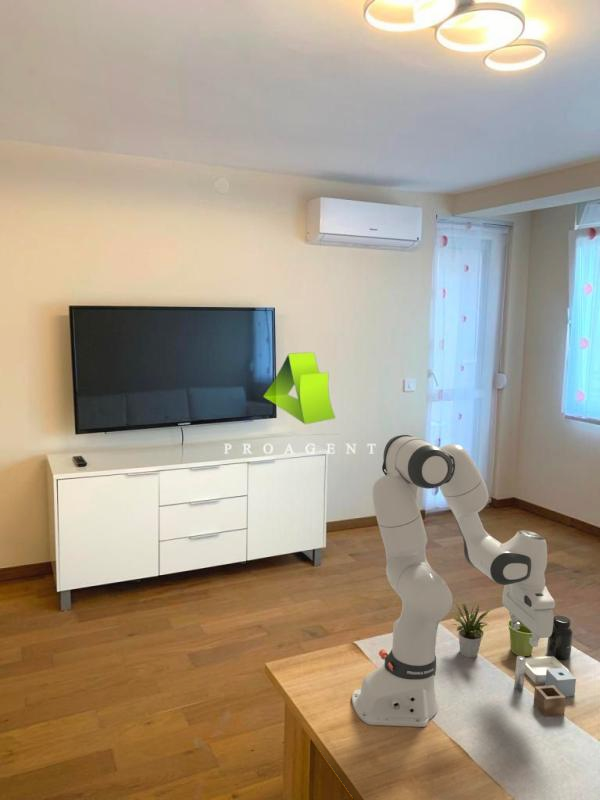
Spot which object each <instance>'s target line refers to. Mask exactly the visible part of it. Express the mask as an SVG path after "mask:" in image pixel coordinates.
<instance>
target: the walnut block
mask: <svg viewBox="0 0 600 800" xmlns="http://www.w3.org/2000/svg"><path fill="white" fill-rule="evenodd" d="M566 697H567V696H564V695H563V694H562V693H561V692H560V691H559V690H558V689H557V688H556V687H555V686H554V685H550V686H545V685H539V686H534V695H533V706H534V707H536V709H537V710H538V711H539V712H540V713H541V714H542V715H543V716H544V718H547V716H549V717H557V716H559V715H560V716H564V715H565V710H566V699H567V698H566Z"/></svg>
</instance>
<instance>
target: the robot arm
mask: <svg viewBox="0 0 600 800" xmlns="http://www.w3.org/2000/svg"><path fill="white" fill-rule="evenodd" d="M381 471H382V472H383V473H384V475H383V476H381V477H380V478H378V479H377V480H375V483H374V484H373V487H372V499H373V500H372V501H373V506H374V512H375V517H376V521H377V525H378V528H379V531H380V532H379V533H380V536H381V539H382V543H383V545H384V550H385V559H386V567H385V574H386V577H387V580H388V583H389V584H390V586H391V588H392V590H394V591H395V593H396V594H397V595H398V596H399V597H400V599H401V605H402V609H401V613H400V616H399V618H397V619H396V620H395V622H394V623H393V630H392V648H391V650H390V652H389V653H387V651H386V649H380V650H379V652H378V655H379V656H380V659H381V660H384V663H383V664H381V665H380V666H379V667H378V668H375V669H374V670H373V671H371V672H369V673H368V674H366V675H365V676H364V677H363V680H362V684H361V687H360V688H358V689H355V690H353V692H352V695H351V702H352V706H353V709H354V711H355V714H357V716H358V717H359V718H360V720H361V721H362V722H364V723H365V724H367V725H370V726H371V725H372V726H388V727H389V726H394V727H415V728H416V727H417V728H418V727H420V728H422V727H423V728H424V727H426V726H428V723H429V721H430V719H432V718H433V717H434V716H435V715H436V714H437V713H438V709H439V705H438V702H437V701H438V700H437V698H436V690H435V687H436V686H435V676H436V672H437V657H436V656H437V655H436V645H437V632H438V627H439V625H440V622H441V620H442V619H444V618H445V617H446V616H447V615H448V614H449V613H450V612H451V611H452V607H453V604H454V603H453V602H454V601H453V600H454V599H453V594H452V592H451V590H450V587H449V586H448V584H447V583H446V581H445V580H444V579H443V578H442V577H441V576H440V574H438V573H437V572H436V570H434V569H433V568H432V566H431V564H429V562H428V560H427V554H426V546H427V544H428V536H427V533H426V532H427V531H426V529H425V524H424V520H423V517H422V513H421V510H420V506H419V503H418V500H417V496H418V495H417V492H418V487H419V488H421V489H422V488H423V489H428V490H429V489H431V490H432V489H436V488H439V490H440V491H441V494H442V496H443V497H444V500H445V501H446V503H447V505H448V507H449V508H450V510H451V512H452V515H453V517H454V519H455V522H456V525H457V527H458V529H459V531H460V535H461V536H462V540H463V551H464V558H465V560H466V561H467V563H468V564H469V565H470V566H472V567H473V568H475V569H476V570H479V571H480V572H481V573H482V574H483V575H485V576H487V577H488V578H489V579H490V580H492V581H493V582H495V583H497V584H499V585H503V586H504V587H503V591H502V599H501V601H502V605H503V608H504V609H506V610H507V611H509V617H510V620H511V621H512V622H511V627H512V628H513V629H515V630H516V629H519V628H520V623H519V622H518V620H519V621H520V622H522V623H523V624H524V625H525V626H526V627H527V628H528V629H529V630H530V631H531V632H532V635H533V636H532V638H529V644H530V645H531V646H532V647H533V648H536V647H538V646H539V641H540V640H541V639H545V638H547V639H548V637H550V636H551V635H552V630H553V619H554V616H555V615H554V612H553V609H554V608H555V607H556V602H555V599H554V598H553V597H552V595H551V593H550V592H549V590H548V588H547V586H546V578H545V571H546V570H547V566H548V565H547V564H548V546H547V541H546V539H545V538H544V537H543V536H542V535H540V534H538V533H537V532H533V531H532V530H525V529H521V530H518V531H516V533H515V535H514V536H513V537H511V539H509V540H508V541H505V542H503V543H501V541H500V540H497V539H496V538H494V537H493V536H492V535H491V534H490V533H488V532H487V531H486V530H485V528H484V525H483V523H482V520H481V518H480V516H479V512H481V511H482V510H483V509H485V507H486V506H487V504H488V501H489V498H490V495H489V490H488V486H487V483H486V482H485V480H484V477H483V476H482V473H481V472H480V470H479V467H478V466H477V464H476V462H475V461H474V460H473V458H472V457H471V456H470V454H469V452H468V451H467V450H466V449H465V448H464V447H463V446H461V444H460V445H459V444H455V443H451V444H449V443H448V444H446V445H443V446H441V447H439V446H437V445H433V444H432V443H429V442H428V441H426V440H424V439H422V438H419V437H415V436H412V435H410V434H402V435H401V434H400V435H396V436H394V437H392V438H390V439H389V440H388V441H387V443H386V444H385V446H384V450H383V461H382V466H381Z"/></svg>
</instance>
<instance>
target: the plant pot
mask: <svg viewBox="0 0 600 800" xmlns="http://www.w3.org/2000/svg"><path fill="white" fill-rule="evenodd" d="M511 622H512V621H511V619H509V620H508V621H507V626H508V629H509V642H510V651H511V652H512V653H513V654H514V655H516V656H522V657H526V656H527V657H531V655H532V653H533V649H534V647H532V646H531V645H530V644H529V638H532V636H533V635H532V632H531V631H530V630H529V629H528V628H527V627H526V626H525V625H524V624H523V623H522V622H520V621H519V620H518V622H519V623H520V628H519V629H516V630H515V629H513V628H512V627H511Z"/></svg>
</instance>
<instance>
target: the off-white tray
mask: <svg viewBox="0 0 600 800" xmlns="http://www.w3.org/2000/svg"><path fill="white" fill-rule="evenodd" d="M525 658H526V662H525V674H526V675H527V676H528V678H529V679H530V680H531V681H532V682H534V684H545V681H546V670H547V669H555V668H565V669H566V670H567V671H568V672H569V673H570V674H571V675H572V672H571V671H570V670H569V669H568V668H567V667H566V666H565V665H564V664H562V663H561V661H559V660H557V659H556V658H555V657H554V656H549V655H547V656H546V655H545V656H534V657H525Z"/></svg>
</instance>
